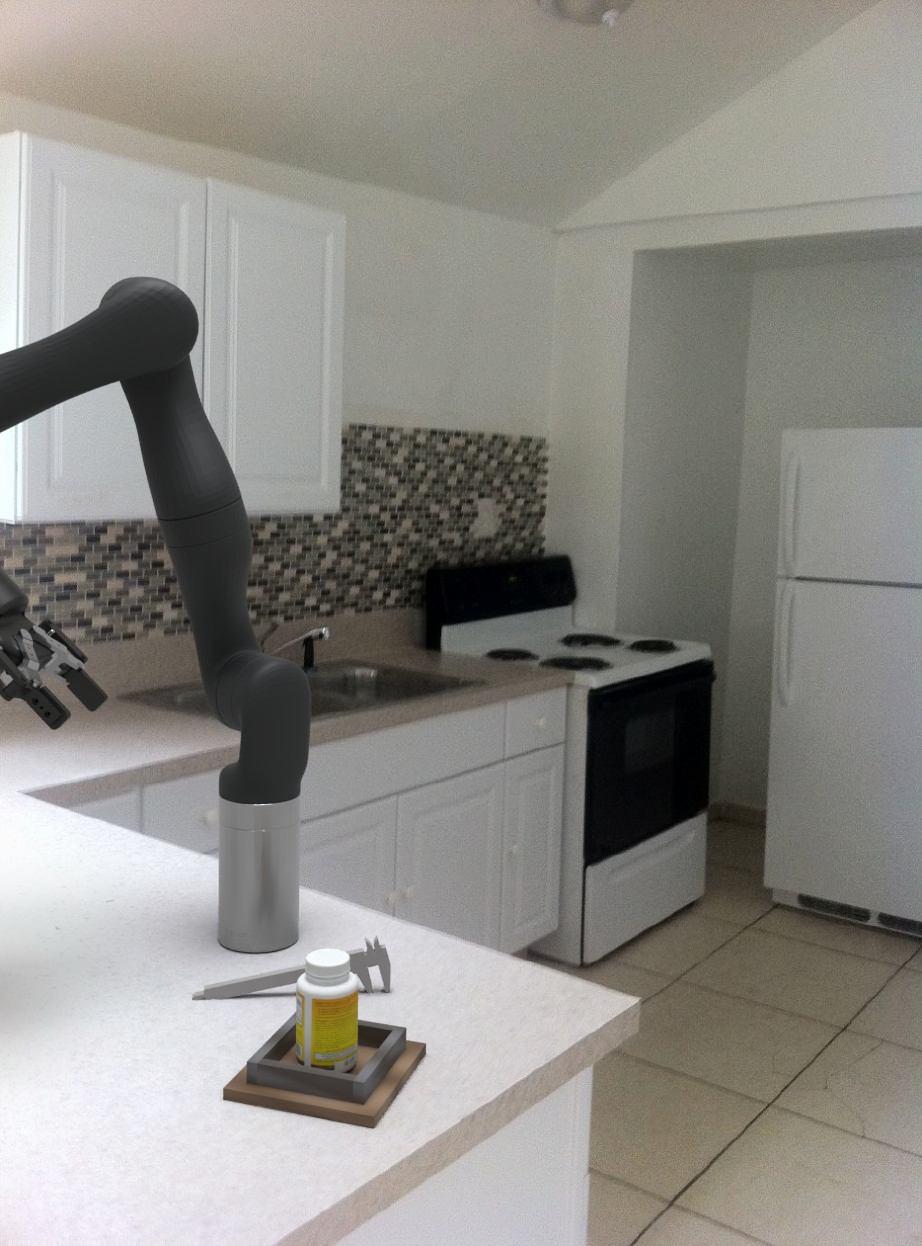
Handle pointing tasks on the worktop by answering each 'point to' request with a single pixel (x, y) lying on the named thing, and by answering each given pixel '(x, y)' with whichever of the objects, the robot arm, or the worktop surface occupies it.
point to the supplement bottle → (327, 1012)
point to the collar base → (329, 1076)
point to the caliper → (290, 975)
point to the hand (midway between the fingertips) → (82, 714)
